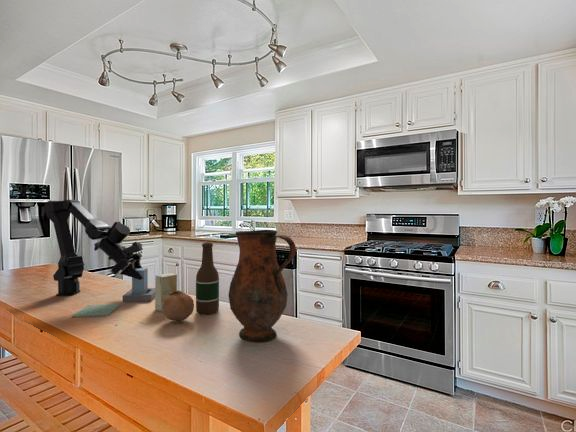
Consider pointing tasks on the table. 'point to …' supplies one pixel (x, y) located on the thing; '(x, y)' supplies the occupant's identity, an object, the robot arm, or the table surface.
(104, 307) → the green mat
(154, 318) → the table surface
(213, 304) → the beer bottle
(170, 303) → the onion
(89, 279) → the table surface
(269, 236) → the pitcher
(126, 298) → the square socket block
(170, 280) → the skincare box
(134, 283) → the tall square blue prism
